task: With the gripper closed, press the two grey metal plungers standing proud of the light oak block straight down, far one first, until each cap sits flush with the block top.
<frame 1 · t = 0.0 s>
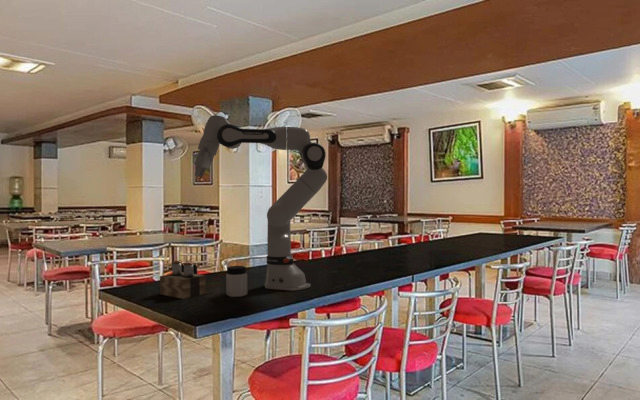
hand: (198, 176, 218), 52 cm above the table, tool tilted 20°, fingers open, 8 cm apart
mug: (188, 285, 224), on the table
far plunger: (176, 269, 206), point 10 cm above the table, slide at 0.0 cm
jar: (236, 295, 202), on the table
oak block: (183, 294, 204), on the table
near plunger: (188, 271, 202), point 10 cm above the table, slide at 0.0 cm
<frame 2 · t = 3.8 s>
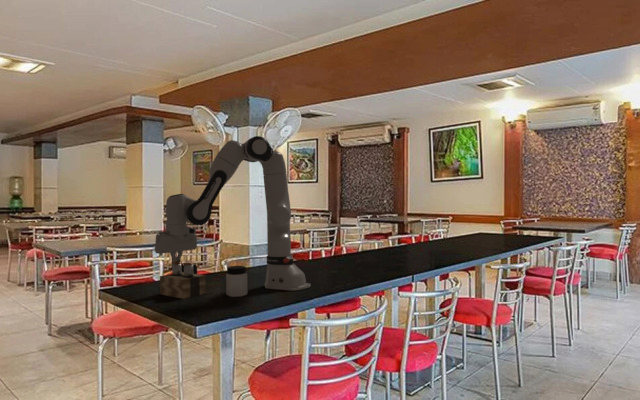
hand: (176, 261, 206), 14 cm above the table, tool pointing down, fingers closed, pressing on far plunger
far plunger: (176, 270, 206), point 10 cm above the table, slide at 0.2 cm, touching gripper
everything else where it was.
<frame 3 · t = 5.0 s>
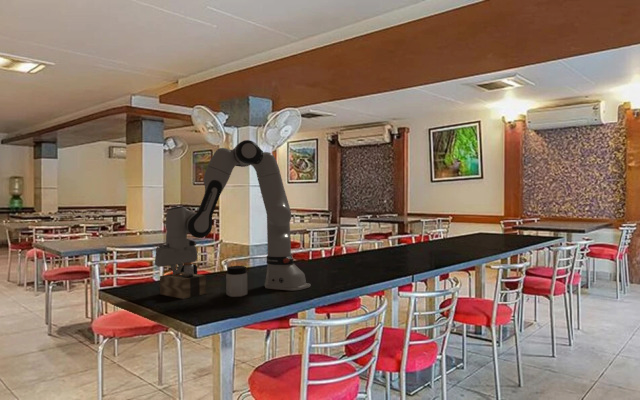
hand: (176, 274, 206), 8 cm above the table, tool pointing down, fingers closed, pressing on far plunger
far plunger: (177, 282, 206), point 4 cm above the table, slide at 5.8 cm, touching gripper
everything else where it was.
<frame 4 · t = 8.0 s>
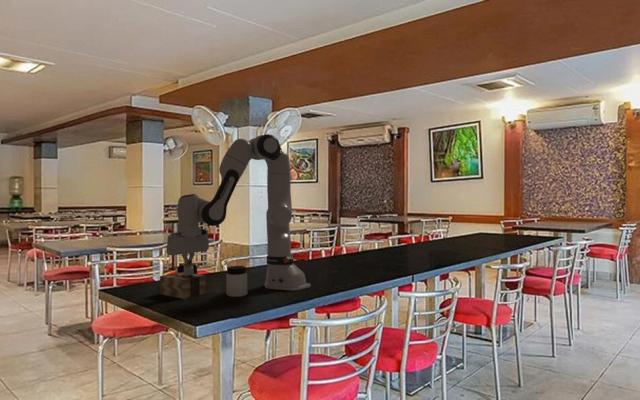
hand: (188, 263, 201), 14 cm above the table, tool pointing down, fingers closed, pressing on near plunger
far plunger: (177, 283, 206), point 4 cm above the table, slide at 5.9 cm
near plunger: (188, 272, 202), point 10 cm above the table, slide at 0.4 cm, touching gripper
everything else where it was.
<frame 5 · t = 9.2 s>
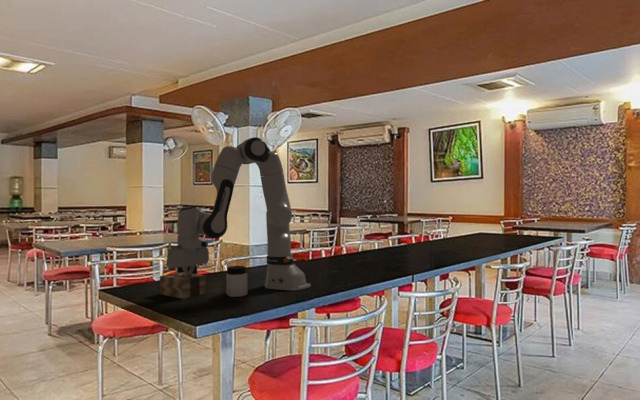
hand: (188, 276, 202), 8 cm above the table, tool pointing down, fingers closed, pressing on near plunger
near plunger: (188, 284, 202), point 4 cm above the table, slide at 5.8 cm, touching gripper
everything else where it was.
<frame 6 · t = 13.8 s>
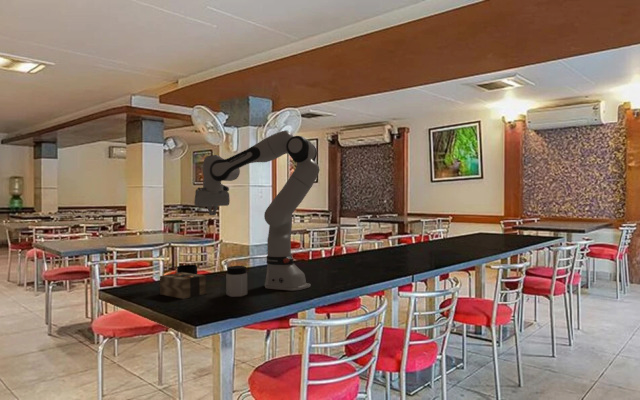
hand: (212, 215, 233), 33 cm above the table, tool pointing down, fingers closed
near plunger: (188, 285, 202), point 4 cm above the table, slide at 5.9 cm
everything else where it was.
at the end: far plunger slide at 5.9 cm; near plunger slide at 5.9 cm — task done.
